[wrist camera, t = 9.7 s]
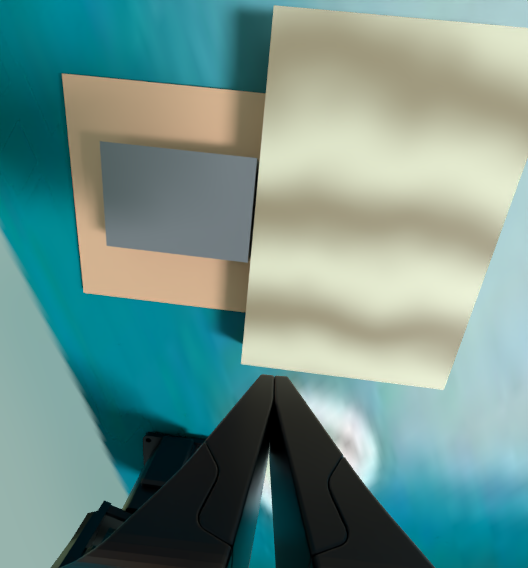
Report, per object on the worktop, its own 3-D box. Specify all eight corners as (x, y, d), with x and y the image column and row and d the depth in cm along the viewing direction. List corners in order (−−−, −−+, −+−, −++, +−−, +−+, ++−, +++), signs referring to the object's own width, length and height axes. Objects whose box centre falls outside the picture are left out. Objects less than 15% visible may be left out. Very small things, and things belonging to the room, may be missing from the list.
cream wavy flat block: (425, 368, 21) (443, 389, 19) (245, 345, 22) (241, 364, 19) (527, 58, 15) (572, 32, 13) (275, 35, 16) (273, 5, 13)
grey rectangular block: (251, 256, 19) (247, 262, 17) (123, 241, 19) (106, 245, 17) (259, 162, 17) (257, 158, 15) (119, 147, 17) (99, 141, 16)
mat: (248, 310, 21) (248, 312, 20) (87, 291, 21) (83, 292, 21) (269, 96, 16) (269, 93, 16) (66, 76, 17) (61, 73, 16)
